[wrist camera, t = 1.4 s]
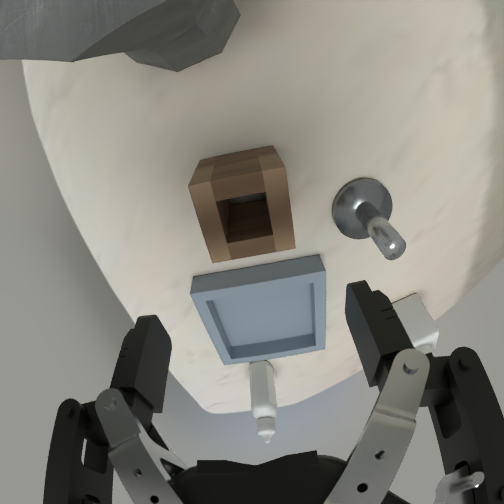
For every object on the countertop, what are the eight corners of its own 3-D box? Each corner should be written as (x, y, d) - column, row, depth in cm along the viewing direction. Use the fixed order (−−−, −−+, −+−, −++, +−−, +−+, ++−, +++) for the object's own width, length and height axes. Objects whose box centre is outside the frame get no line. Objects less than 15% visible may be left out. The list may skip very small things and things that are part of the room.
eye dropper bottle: (281, 360, 38) (291, 436, 28) (269, 378, 41) (275, 447, 31) (252, 357, 37) (257, 436, 27) (242, 376, 40) (245, 446, 30)
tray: (193, 276, 28) (190, 293, 26) (319, 254, 27) (325, 270, 25) (224, 349, 35) (224, 365, 33) (320, 333, 35) (325, 348, 32)
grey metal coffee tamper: (330, 182, 23) (361, 220, 17) (389, 174, 22) (431, 208, 17) (333, 239, 26) (357, 286, 20) (386, 229, 26) (419, 271, 20)
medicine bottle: (373, 339, 37) (398, 408, 27) (370, 311, 33) (402, 389, 23) (414, 321, 35) (446, 385, 26) (416, 291, 32) (457, 362, 22)
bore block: (199, 160, 21) (188, 186, 16) (273, 145, 21) (285, 166, 16) (217, 222, 25) (212, 263, 20) (283, 210, 24) (295, 248, 19)
